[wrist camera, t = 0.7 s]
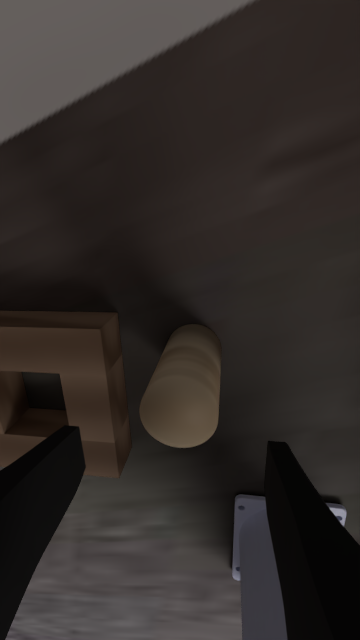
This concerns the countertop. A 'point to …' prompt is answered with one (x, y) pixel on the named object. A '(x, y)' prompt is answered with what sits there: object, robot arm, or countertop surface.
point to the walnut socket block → (65, 385)
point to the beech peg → (184, 389)
